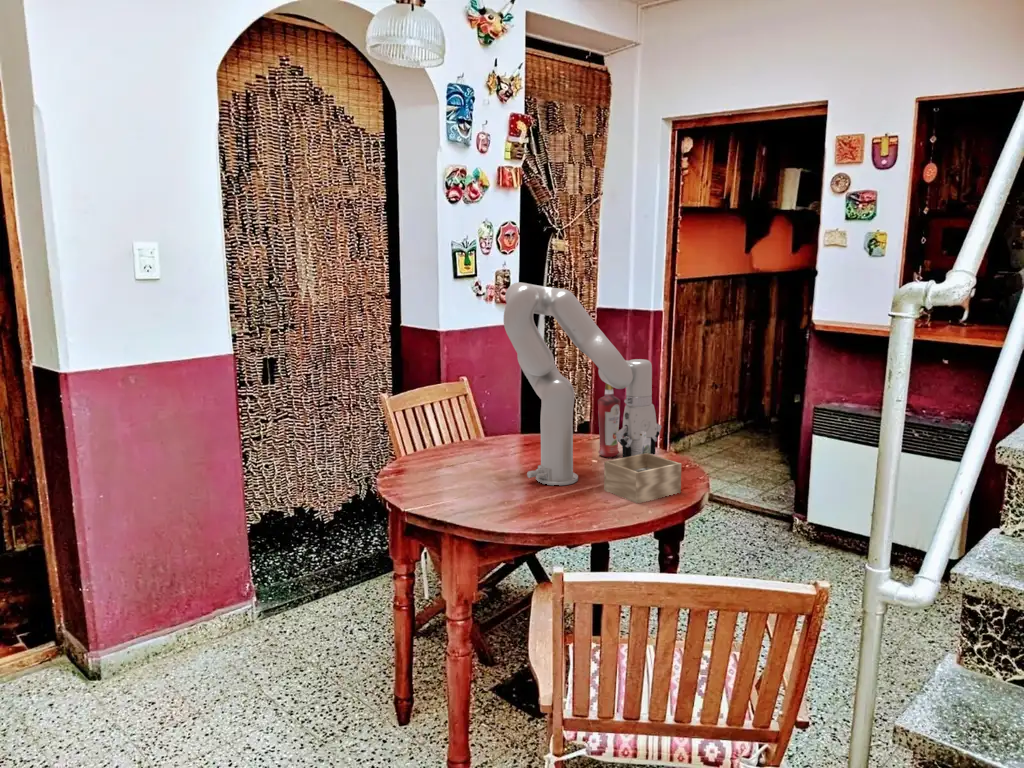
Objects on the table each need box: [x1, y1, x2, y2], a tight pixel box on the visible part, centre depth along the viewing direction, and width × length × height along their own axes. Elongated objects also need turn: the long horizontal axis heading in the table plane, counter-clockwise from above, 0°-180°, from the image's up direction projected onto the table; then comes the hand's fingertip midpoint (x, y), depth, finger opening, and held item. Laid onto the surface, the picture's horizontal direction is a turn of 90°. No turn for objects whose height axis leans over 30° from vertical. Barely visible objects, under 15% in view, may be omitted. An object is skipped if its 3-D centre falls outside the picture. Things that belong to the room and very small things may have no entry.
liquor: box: [597, 383, 621, 458], centre depth 246 cm, size 7×7×28 cm
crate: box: [603, 453, 682, 504], centre depth 209 cm, size 16×14×8 cm
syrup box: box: [626, 431, 651, 456], centre depth 225 cm, size 6×6×14 cm
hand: (639, 456), depth 225 cm, fingers open, 9 cm apart
